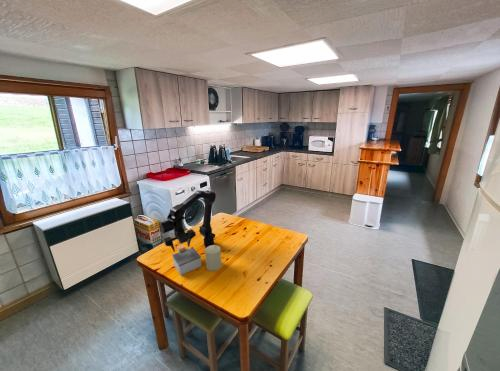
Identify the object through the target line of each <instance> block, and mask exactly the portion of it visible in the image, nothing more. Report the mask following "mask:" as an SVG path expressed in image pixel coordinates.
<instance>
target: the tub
mask: <svg viewBox="0 0 500 371" xmlns="http://www.w3.org/2000/svg"><path fill="white" fill-rule="evenodd" d="M201 258H202V257H201ZM201 258H199V259H196V260H194V261H192V262H189V263H187V264H184V265H182V266H180V267H179V266H178V264H177V263H176V261H175V260H174V258H173V257H172V261H173V265H174V268H175V269H176V270H177V272H178V273H179V275H180V276H182V275H184V274H185V275H186V273H188V272H191V271H193V270H195V269H199V268H200V267H202V259H201Z"/></svg>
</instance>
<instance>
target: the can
mask: <svg viewBox="0 0 500 371" xmlns="http://www.w3.org/2000/svg"><path fill="white" fill-rule="evenodd" d="M204 256H205V263H206V264H205V267H206V269H207V270H208V271H211V272H214V271H217V270H219V269H221V267H222V266H223V265H222V259H221V247H220V246H219V245H216V244H214V245H211V246H208V247H205V249H204Z"/></svg>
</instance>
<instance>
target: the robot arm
mask: <svg viewBox="0 0 500 371" xmlns="http://www.w3.org/2000/svg"><path fill="white" fill-rule="evenodd" d="M216 196H217V195H216V192H214V191H211V190H199V189H198V190H195V192H194V193H193V194H191V195H190V196H189V197H188V198H186V199H185V200H183V201H182V202H181V203H180V204H176V205H174V206H172V207H171V208H170V209H169V213H168V216H167V217H166V220H165V221H161V222H160V223H159V230H160V232H161V234H162V235H164V234H167V233H170V232H171V231H173V235H174V237H171V236H167V237H164V238H163V243H164V245H165V247H170V248H171V249H172V251H173V252H174V253H175V252H176V250H175V246H174V243H173V242H175V241H178V242H179V245H181V244H184V243H187V247H190V245H191V241H192V239H193V238H194V237H197V234H196V231H195V230H193V229H192V228H190V229H188V230H185V229H184V222H183V220H185V219H186V217H185V216H184V215H185V213H186V211H187V210H188V209H189V208H190V207H191V206H192V205H193V204H194V203H196V202H197V201H198V200H200V199H202V198H203V199H202V200H203V202H204V210H203V211H204V212H203V221H202V225H200V226H199V230H198V232H199V234H200V235H201V236H202V237H203V245H204V247H205V248H207V247H208V246H211V245H215V241H214V239H215V238H216V234H215V233H213V228H212V226H211V221H212V212H213V211H212V209H213V204H214V203H215V201H216ZM173 217H174V218H173Z"/></svg>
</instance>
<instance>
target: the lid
mask: <svg viewBox="0 0 500 371" xmlns="http://www.w3.org/2000/svg"><path fill="white" fill-rule="evenodd" d="M176 249H177V253H174V254H172V255H171V256H172V259H173V258H174V260H175V261H176V263H177V264H178V266H179V267H180V266H182V265H184V264H187V263H189V262H192V261H194V260H196V259H199V258H202V257H201V255H200V254H199V253H198V252H197V250H196V249H195V248H194V247H193V246H192V247H190V248H187V249H186V246H185V245H184V243H182V244H179V245H176Z"/></svg>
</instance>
